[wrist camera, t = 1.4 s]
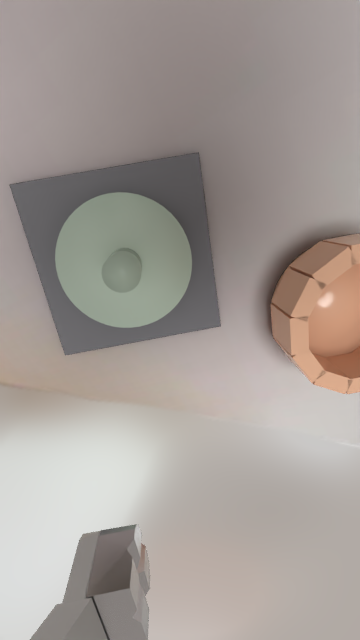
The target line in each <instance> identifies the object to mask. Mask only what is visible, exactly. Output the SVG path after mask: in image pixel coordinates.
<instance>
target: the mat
mask: <svg viewBox="0 0 360 640" xmlns="http://www.w3.org/2000/svg"><path fill="white" fill-rule="evenodd" d="M10 188H11V191H12V194H13V197H14V200H15V203H16V206H17V209H18V212H19V215H20V218H21V221H22V225H23V228H24V231H25V234H26V237H27V240H28V243H29V246H30V249H31V252H32V255H33V258H34V261H35V264H36V267H37V271H38V274H39V277H40V280H41V283H42V286H43V289H44V292H45V295H46V298H47V301H48V304H49V307H50V310H51V313H52V317H53V320H54V323H55V326H56V329H57V332H58V335H59V338H60V341H61V344H62V347H63V350H64V353H65V355H70V354H75V353H80V352H86V351H91V350H96V349H102V348H107V347H112V346H118V345H123V344H128V343H134V342H139V341H144V340H150V339H155V338H160V337H166V336H171V335H176V334H182V333H187V332H192V331H198V330H203V329H208V328H214V327H219V326H221V324H220V317H219V309H218V301H217V293H216V285H215V277H214V269H213V261H212V254H211V246H210V238H209V230H208V222H207V214H206V206H205V198H204V191H203V183H202V175H201V167H200V159H199V152H198V153H192V154H186V155H181V156H175V157H169V158H163V159H157V160H151V161H145V162H139V163H134V164H128V165H122V166H116V167H110V168H104V169H98V170H92V171H87V172H81V173H75V174H69V175H63V176H57V177H51V178H45V179H40V180H34V181H28V182H22V183H16V184H10ZM116 192H126V193H133V194H138V195H141V196H144V197H147V198H149V199H151V200H154V201H156V202H157V203H159V204H160V205H162V206H163V207H164V208H166V209H167V210H168V211H169V212H170V213H171V214H172V215H173V216H174V217H175V218H176V219H177V221H178V222H179V224H180V225H181V227H182V228H183V230H184V232H185V234H186V236H187V239H188V242H189V245H190V249H191V255H192V271H191V277H190V281H189V284H188V287H187V289H186V291H185V294H184V295H183V297H182V298H181V300H180V302H179V303H178V304H177V305H176V306H175V308H173V309H172V310H171V311H170V312H169V313H168V314H167V315H165V316H164V317H162V318H161V319H159V320H157V321H155V322H153V323H150V324H148V325H144V326H140V327H133V328H121V327H113V326H109V325H105V324H103V323H100V322H98V321H96V320H94V319H92V318H90V317H88V316H87V315H85V314H84V313H83V312H81V311H80V310H79V309H78V308H77V307H76V306H75V305H74V304H73V303H72V302H71V300H70V299H69V298H68V296H67V295H66V293H65V292H64V290H63V288H62V286H61V283H60V281H59V278H58V274H57V270H56V263H55V250H56V244H57V240H58V237H59V233H60V231H61V229H62V227H63V225H64V223H65V222H66V220H67V219H68V217H69V216H70V215H71V214H72V213H73V212H74V211H75V210H76V209H77V208H78V207H79V206H81V205H82V204H83V203H85V202H87V201H88V200H90V199H92V198H95V197H97V196H100V195H104V194H108V193H116Z"/></svg>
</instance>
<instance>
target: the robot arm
mask: <svg viewBox="0 0 360 640" xmlns="http://www.w3.org/2000/svg"><path fill="white" fill-rule="evenodd" d="M141 537H142V533H141V531H140V527H139V525H137V524H136V525H130V526H125V527H119V528H113V529H107V530H101V531H98V532H91V533H86V534H83V535H82V537H81V538H80V540H79V543H78V547H77V550H76V554H75V558H74V562H73V565H72V569H71V573H70V577H69V581H68V584H67V588H66V592H65V595H64V599H63V603H62V604H57V605H56V606H55V607H54V609H53V610H52V611H51V613H50V614H49V615H48V617H47V618H46V619H45V620H44V622H43V623H42V624H41V626H40V627H39V628H38V630H37V631H36V632H35V634H34V635H33V636H32V638H31V639H30V640H148V621H149V620H148V619H149V607H148V604H147V601H146V598H145V596H146V594H147V592H148V590H149V589H150V570H149V560H148V554H147V550H146V546H145V545H143V544H142V543H141Z"/></svg>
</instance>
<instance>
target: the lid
mask: <svg viewBox="0 0 360 640" xmlns="http://www.w3.org/2000/svg"><path fill="white" fill-rule="evenodd" d="M55 263H56V270H57V274H58V278H59V281H60V283H61V286H62V288H63V290H64V292H65V293H66V295H67V296H68V298H69V299H70V300H71V302H72V303H73V304H74V305H75V306H76V307H77V308H78V309H79V310H80V311H81V312H83V313H84V314H85V315H87V316H88V317H90V318H92V319H94V320H96V321H98V322H100V323H103V324H105V325H109V326H113V327H121V328H133V327H140V326H144V325H148V324H150V323H153V322H155V321H157V320H159V319H161V318H162V317H164V316H165V315H167V314H168V313H169V312H170V311H171V310H172V309H173V308H175V306H176V305H177V304H178V303H179V302H180V300H181V298H182V297H183V295H184V294H185V291H186V289H187V287H188V284H189V281H190V277H191V271H192V255H191V249H190V245H189V242H188V239H187V236H186V234H185V232H184V230H183V228H182V227H181V225H180V224H179V222H178V221H177V219H176V218H175V217H174V216H173V215H172V214H171V213H170V212H169V211H168V210H167V209H166V208H164V207H163V206H162V205H160V204H159V203H157V202H156V201H154V200H151V199H149V198H147V197H144V196H141V195H138V194H133V193H126V192H116V193H108V194H104V195H100V196H97V197H95V198H92V199H90V200H88V201H87V202H85V203H83V204H82V205H81V206H79V207H78V208H77V209H76V210H75V211H74V212H73V213H72V214H71V215H70V216H69V217H68V219H67V220H66V222H65V223H64V225H63V227H62V229H61V231H60V233H59V237H58V240H57V244H56V250H55Z"/></svg>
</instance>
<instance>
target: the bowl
mask: <svg viewBox="0 0 360 640" xmlns="http://www.w3.org/2000/svg"><path fill="white" fill-rule="evenodd" d="M271 302H272V303H271V319H272V334H273V337H274V339H275V341H276V342H277V343H278V345H279V346H280V347H281V348H282V350H283V351H284V352H285V354H286V355H287V356H288V357H289V359H290V360H291V361H292V362H293V363H294V364H295V366H296V367H297V368H298V369H299V370H300V371H301V372H302V373H303V374H304V375H305V376H306V377H307V378H308V380H309V381H310V382H311V383H313V384H314V385H317V386H320V387H324V388H327V389H330V390H333V391H337V392H340V393H343V394H345V393H347V394H351V393H356V392H360V234H359V233H358V234H353V235H347V236H342V237H336V238H331V239H325V240H322V242H321V241H319V242H318V243H317V244H315V245H314V246H313V247H312V248H310V249H308V250H307V251H305V252H304V253H302V254H301V255H299V256H298V257H297V258H296V259H295V260H294V261H293V262H292V263H291V264H290V265H289V266H288V267H287V268H286V270H285V271H284V273H283V274H282V276H281V277H280V279H279V281H278V283H277V285H276V288H275V290H274V294H273V297H272V300H271Z"/></svg>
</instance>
